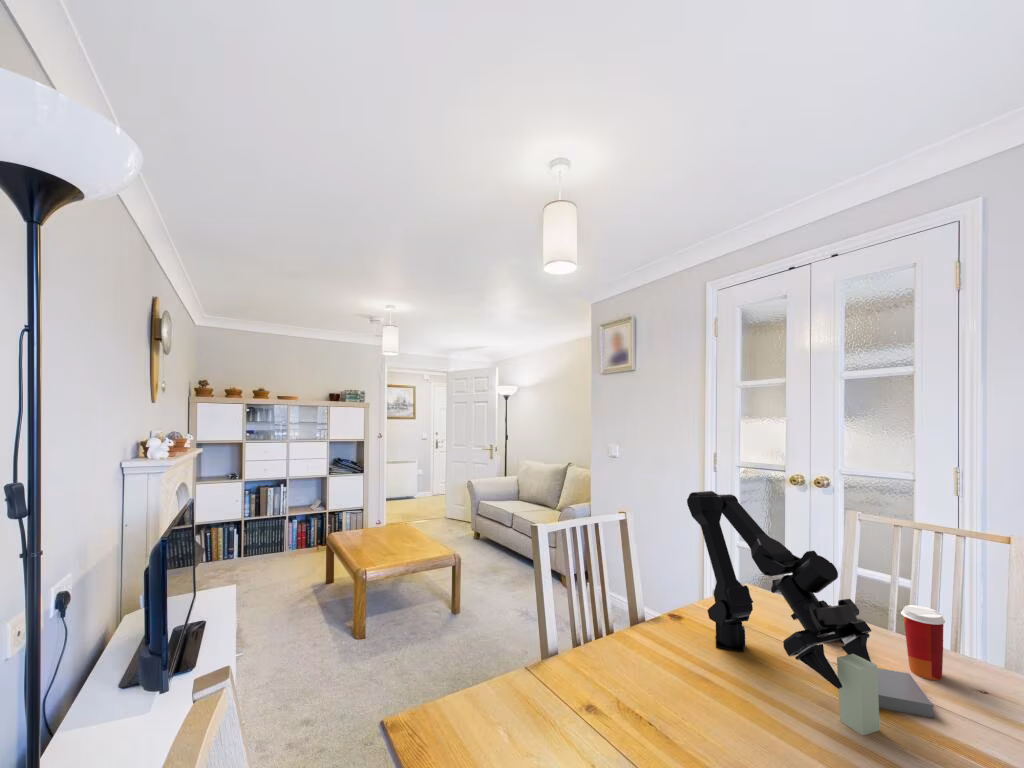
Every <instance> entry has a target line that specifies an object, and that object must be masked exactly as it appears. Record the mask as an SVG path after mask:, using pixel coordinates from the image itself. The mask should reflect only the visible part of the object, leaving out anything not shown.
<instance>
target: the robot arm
mask: <svg viewBox="0 0 1024 768" xmlns="http://www.w3.org/2000/svg"><path fill="white" fill-rule="evenodd" d="M686 503H687V507H688V509H689V512H690V514H691V517H692V518H693V520H695V521H696V522H697V524H698V525H699V526H700V528H701V532H702V536H703V538H704V542H705V546H706V549H707V552H708V553H707V554H708V557H709V561H710V563H711V567H712V571H713V574H714V577H715V581H716V583H715V588H714V591H713V599H714V604H712V605H711V606H710V607H709V608H708V609H707V614H708V619H709V620H711V621H713V622H715V635H714V636H715V639H714V640H715V648H717V649H718V648H719V649H724V650H730V651H734V652H740V653H741V652H743V653H744V652H745V649H744V648H745V647H746V628H745V626H744V625H743V622H749V619H750V615H751V613H752V612H753V611H754V610H753V603H754V600H752V596H751V593H750V589H749V587H748V586H747V585H743V584H742V583H740V581H739V580H738V579H737V577H736V576H737V575H736V574H735V570H734V567H733V566H734V565H733V562H732V560H731V556H730V553H729V550H728V546H727V543H726V539H725V536H724V533H723V530H722V526H721V518H722V515H723V516H724V518H726V520H727V521H728V522H729V523H730V524H731V526H732V527H733V529H734V530H735V531H736V532H737V534H738V535H739V536H740V537H741V538H742V540H744V542H745V543H746V544H747V545H748V547H749V549H750V552H751V559H752V560H753V561H754V563H755V565H756V567H758V570H759V571H760V573H762V575H764V576H767V577H775V576H776V577H777V576H781V575H784V576H781V578H778V579H772V581H771V582H772V585H771V588H770V589H771V590H770V592H771V593H772V594H777V593H780V594H781V595H782V597H783V598H784V600H785V601H786V603H787V604H788V605H787V606H789V607H790V609H791V611H792V614H790V617H791V618H792V620H793V621H796V620H798V621H799V623H800V625H801V627H802V628H803V630H798V631H795V632H794V633H792V634H791V635H789V636H787V637H786V638H785V639H784V640H783V649H784V650H785V652H786V654H787V656H788V657H794V656H795V657H794V658H795V660H797V661H800V662H802V663H803V664H805V665H807V666H808V667H809V668H810V669H812V670H813V671H815V672H816V674H819V675H820V676H821V677H822V678H823V679H825V680H826V681H827V682H828V683H830V684H831V685H832V686H834V688H836V689H837V690H838V689H840V688H842V684H841V682H840V680H839V678H838V674H836V673H837V672H835V670H834V669H833V667H832V665H831V664H830V662H829V660H828V659H827V657H826V655H825V650H824V648H825V647H824V643H831V642H830V641H835V640H837V641H838V642H837V643H840V644H842V646H840V647H841V649H842V650H843V651H844V652H845V654H846V655H850V654H855V655H857V656H859V657H861V658H863V659H865V660H867V661H869V662H871V663H872V660H871V658H870V655H869V651H868V647H867V643H868V639H869V638H870V632H872V629H871V627H870V626H869V625H868V623H867V622H866V621H865V620H862V619H859V618H857V616H859V615H860V609H859V607H858V606H857V605H856V604H855V602H853V600H852V599H851V598H844V599H843V598H842V599H839V600H838V601H837V603H838V604H837V605H833V606H832V605H831V607H829V604H828V602H826V601H825V600H824V599H823V600H819V599H818V598H817V596H816V595H815V594H818V593H820V592H822V591H823V590H824V589H825V588H827V587H828V586H830V585H831V584H832V583H833V582H835V581H836V580H837V579H838V577H839V573H838V572H839V571H838V570H837V567H836V566H835V564H834V563H832V562H830V561H829V560H828V559H827V558H826V557H824V556H821V555H819V554H817V552H816V550H806V552H804V553H803V554H802V556H801V557H799V556H797V555H794V554H793V553H792V551H791V550H789V549H788V548H787V547H786V546H785V545H784V544H783V543H781V542H780V541H778V540H776V539H775V538H772V537H770V536H769V535H768V534H767V533H766V532H765V531H764V529H762V528H761V526H760V525H759V524H758V523H757V521H755V520H754V519H753V518H752V516H751V514H749V513H748V511H747V510H746V509H745V508H744V507H743V505H741V503H739V501H738V498H737V496H735V495H734V494H718V493H716V492H715V491H713V490H705V491H704V490H703V491H694V492H693V491H692V492H690V493H689V495H688V497H687V499H686ZM838 626H839V627H838ZM837 627H838V628H837ZM830 635H832V636H830ZM822 637H823V638H822Z"/></svg>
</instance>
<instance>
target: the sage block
mask: <svg viewBox="0 0 1024 768" xmlns="http://www.w3.org/2000/svg"><path fill="white" fill-rule="evenodd" d="M836 663H837V664H836V666H837V670H836V673H837V677H838V678H839V680H840V682H841V684H842V688H840V689H837V690H838V691H837V692H838V694H837V695H838V696H837V697H838V717H839V722H840V723H842V724H844V725H846V726H847V727H849V728H850V729H852V730H853V731H854V732H856V733H858V734H859V735H861V736H867V735H869V734H872V733H876V732H879V731H881V729H880V728H881V727H880V708H879V702H878V679H877V668H878V666H877V664H875V663H873V662H872V661H871V662H869V661H867V660H865V659H863V658H861V657H859V656H857V655H855V654H850V655H848V654H845V655H843V656H837V657H836Z"/></svg>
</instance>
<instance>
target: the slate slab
mask: <svg viewBox="0 0 1024 768" xmlns="http://www.w3.org/2000/svg"><path fill="white" fill-rule="evenodd" d="M877 679H878V702H879V709H885V710H890V711H895V712H901V713H906V714H910V715H915V714H917V716H920V715H922V717H926V716H928V717H927V718H931V717H933V718H934V707H933V706H934V705H933V703H932V702H931V701H930V699H929V698H928V696H927V695H926V694H925V693H924V691H923V690H922V688H921V687H920V686H919V684H918V683H917V681H915V679H914V678H913V676H912V675H911V674H910V673H909V672H902V671H895V670H893V669H891V670H890V669H885V668H884V669H883V668H879V667H877ZM923 715H924V716H923Z"/></svg>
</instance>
